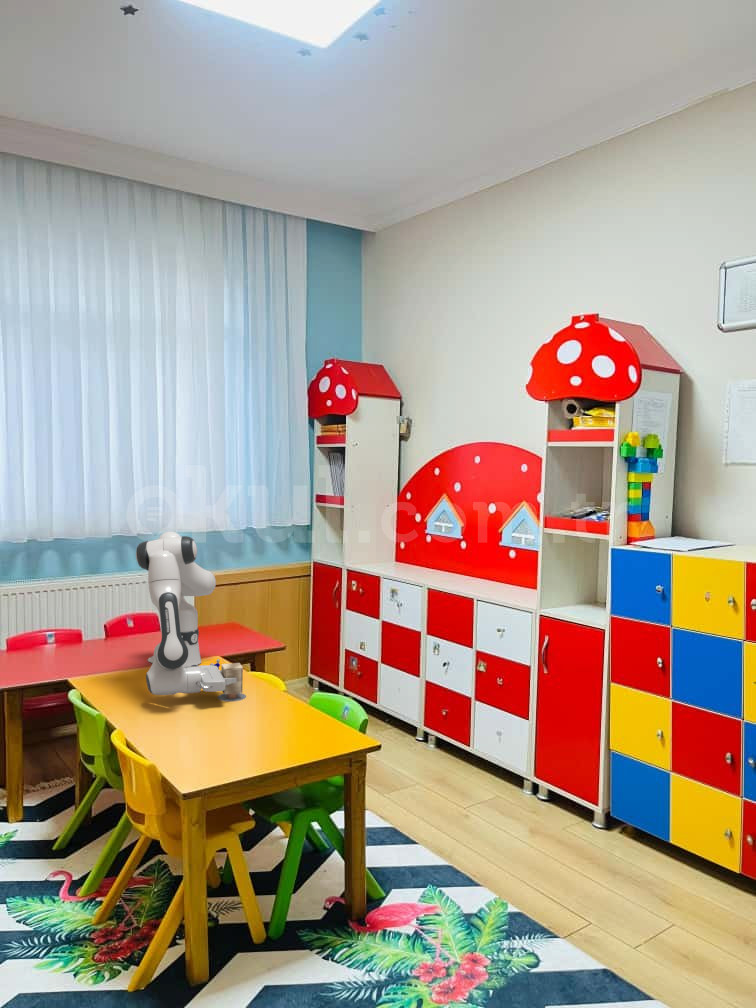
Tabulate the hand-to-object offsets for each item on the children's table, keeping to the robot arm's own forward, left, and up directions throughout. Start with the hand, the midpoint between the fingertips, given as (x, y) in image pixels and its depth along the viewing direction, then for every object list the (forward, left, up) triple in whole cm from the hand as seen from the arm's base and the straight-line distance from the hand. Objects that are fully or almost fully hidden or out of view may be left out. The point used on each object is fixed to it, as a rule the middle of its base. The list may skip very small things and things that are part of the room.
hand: (234, 676), depth 278 cm
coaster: (-1, -1, -8) cm, 8 cm away
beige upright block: (-1, -1, -5) cm, 5 cm away
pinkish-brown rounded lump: (-1, -1, -7) cm, 7 cm away
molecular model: (-18, +12, -8) cm, 23 cm away
